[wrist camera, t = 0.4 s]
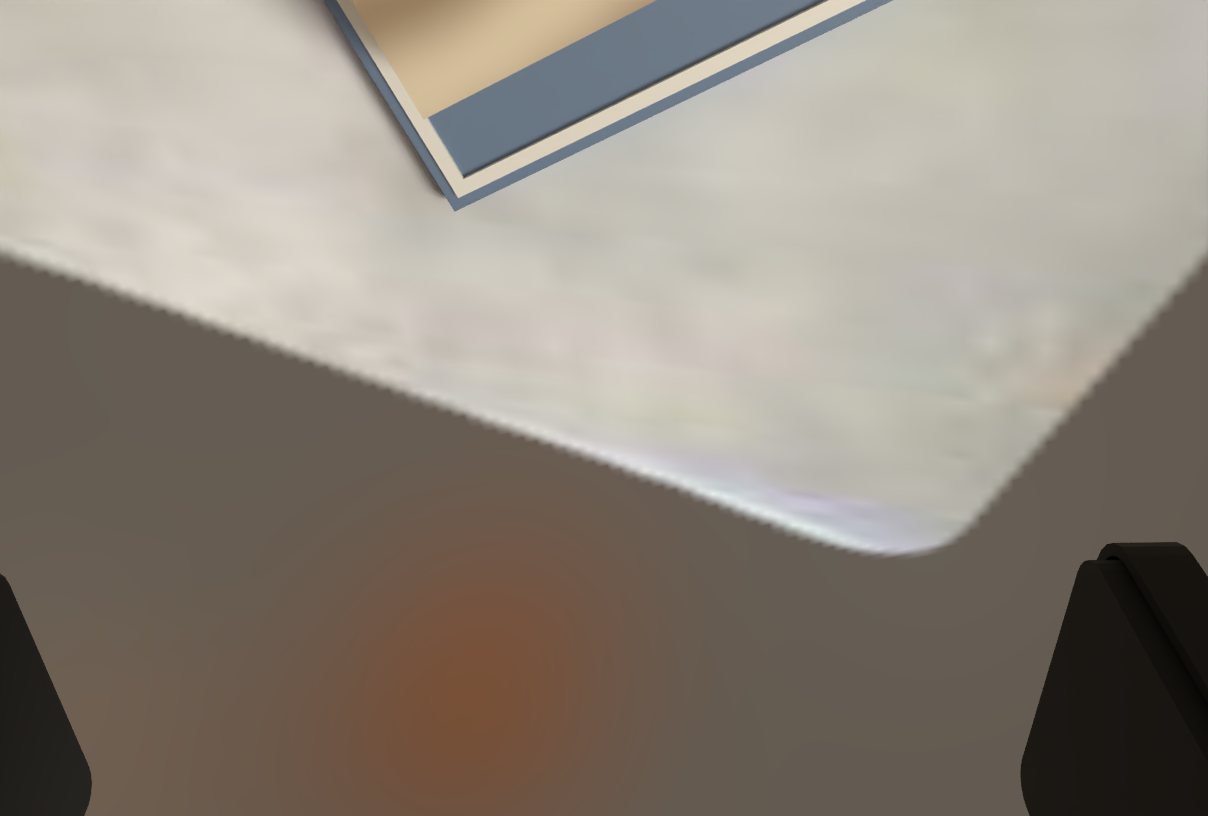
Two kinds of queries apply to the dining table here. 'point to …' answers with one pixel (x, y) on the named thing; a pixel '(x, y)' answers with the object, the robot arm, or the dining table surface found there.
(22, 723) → the robot arm
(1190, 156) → the dining table surface
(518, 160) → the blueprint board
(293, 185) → the dining table surface
